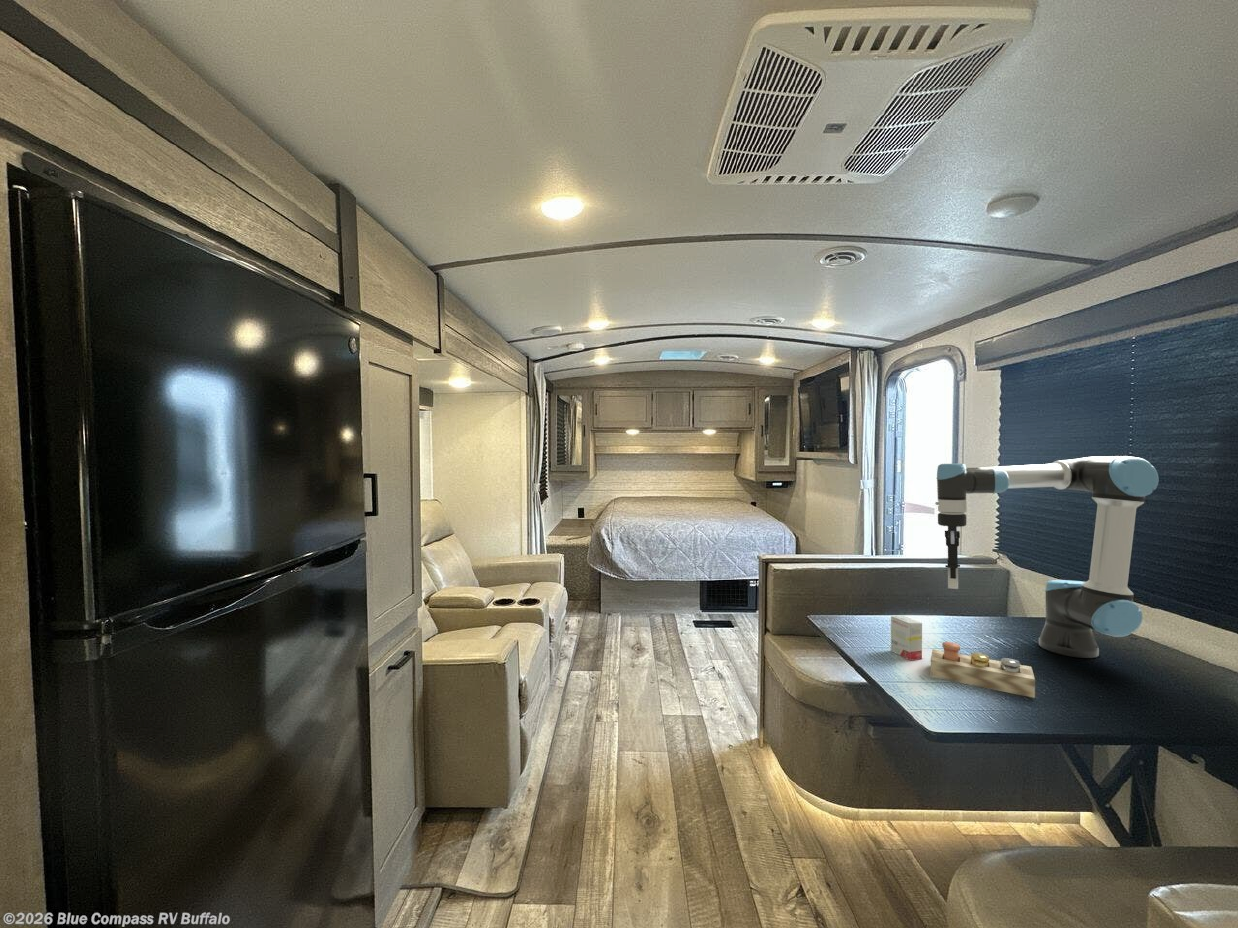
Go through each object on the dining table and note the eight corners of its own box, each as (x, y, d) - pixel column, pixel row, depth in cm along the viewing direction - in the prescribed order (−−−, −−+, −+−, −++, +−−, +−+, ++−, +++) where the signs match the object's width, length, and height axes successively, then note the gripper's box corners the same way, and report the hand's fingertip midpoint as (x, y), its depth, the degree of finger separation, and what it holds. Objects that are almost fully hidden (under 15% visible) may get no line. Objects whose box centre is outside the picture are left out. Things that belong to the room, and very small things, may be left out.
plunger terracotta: (960, 665, 154) (960, 643, 153) (959, 670, 150) (960, 648, 150) (942, 662, 156) (942, 640, 156) (942, 667, 152) (942, 645, 152)
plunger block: (1031, 684, 147) (1031, 666, 146) (1034, 697, 138) (1035, 679, 138) (932, 665, 160) (932, 649, 160) (930, 676, 152) (930, 659, 152)
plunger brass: (989, 677, 150) (989, 654, 150) (989, 682, 146) (989, 659, 146) (970, 673, 152) (970, 651, 152) (970, 678, 149) (970, 656, 148)
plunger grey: (1019, 682, 146) (1019, 660, 146) (1020, 688, 142) (1021, 665, 142) (1000, 679, 148) (1000, 656, 148) (1001, 684, 145) (1001, 661, 145)
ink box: (923, 659, 165) (923, 622, 165) (910, 660, 164) (910, 623, 163) (902, 649, 173) (902, 614, 173) (890, 650, 172) (890, 615, 172)
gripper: (937, 510, 169) (939, 582, 169) (937, 514, 158) (938, 591, 158) (965, 511, 165) (966, 584, 165) (967, 515, 154) (968, 594, 154)
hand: (953, 587), depth 162 cm, fingers closed
